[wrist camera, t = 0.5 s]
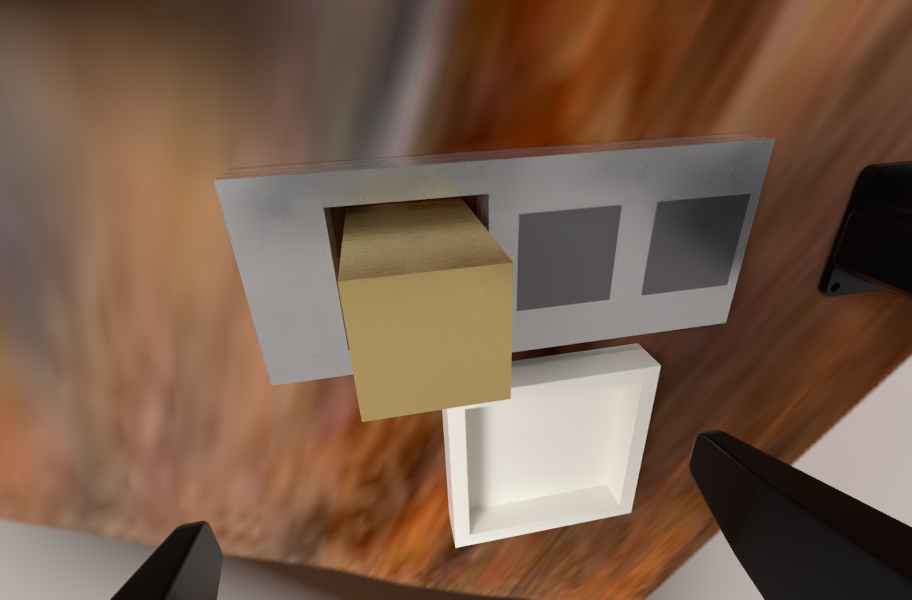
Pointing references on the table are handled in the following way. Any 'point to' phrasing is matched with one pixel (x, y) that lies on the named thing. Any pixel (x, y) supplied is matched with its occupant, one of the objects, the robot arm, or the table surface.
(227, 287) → the table surface
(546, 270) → the grey flat plate
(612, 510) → the tray
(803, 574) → the robot arm
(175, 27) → the table surface
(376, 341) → the wood grain block
